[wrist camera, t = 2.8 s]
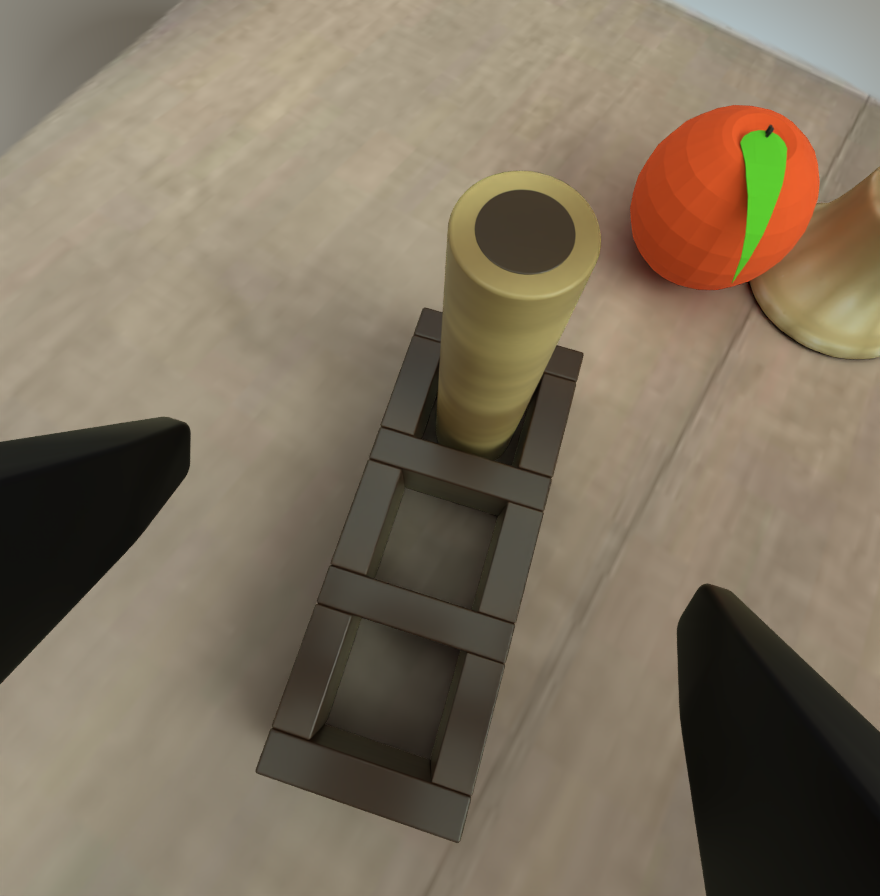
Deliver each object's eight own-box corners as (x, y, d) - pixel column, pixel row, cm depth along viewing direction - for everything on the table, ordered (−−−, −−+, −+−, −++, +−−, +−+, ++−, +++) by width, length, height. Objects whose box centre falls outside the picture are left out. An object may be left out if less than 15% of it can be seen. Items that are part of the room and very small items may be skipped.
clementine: (757, 351, 25) (883, 250, 18) (604, 330, 25) (671, 221, 18) (751, 205, 27) (861, 68, 20) (611, 187, 27) (673, 44, 21)
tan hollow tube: (525, 445, 23) (632, 259, 11) (458, 479, 23) (496, 322, 11) (487, 382, 24) (551, 148, 12) (422, 414, 24) (420, 201, 12)
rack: (454, 811, 19) (459, 845, 16) (278, 751, 20) (253, 773, 17) (565, 383, 24) (584, 352, 21) (423, 342, 25) (423, 305, 22)
